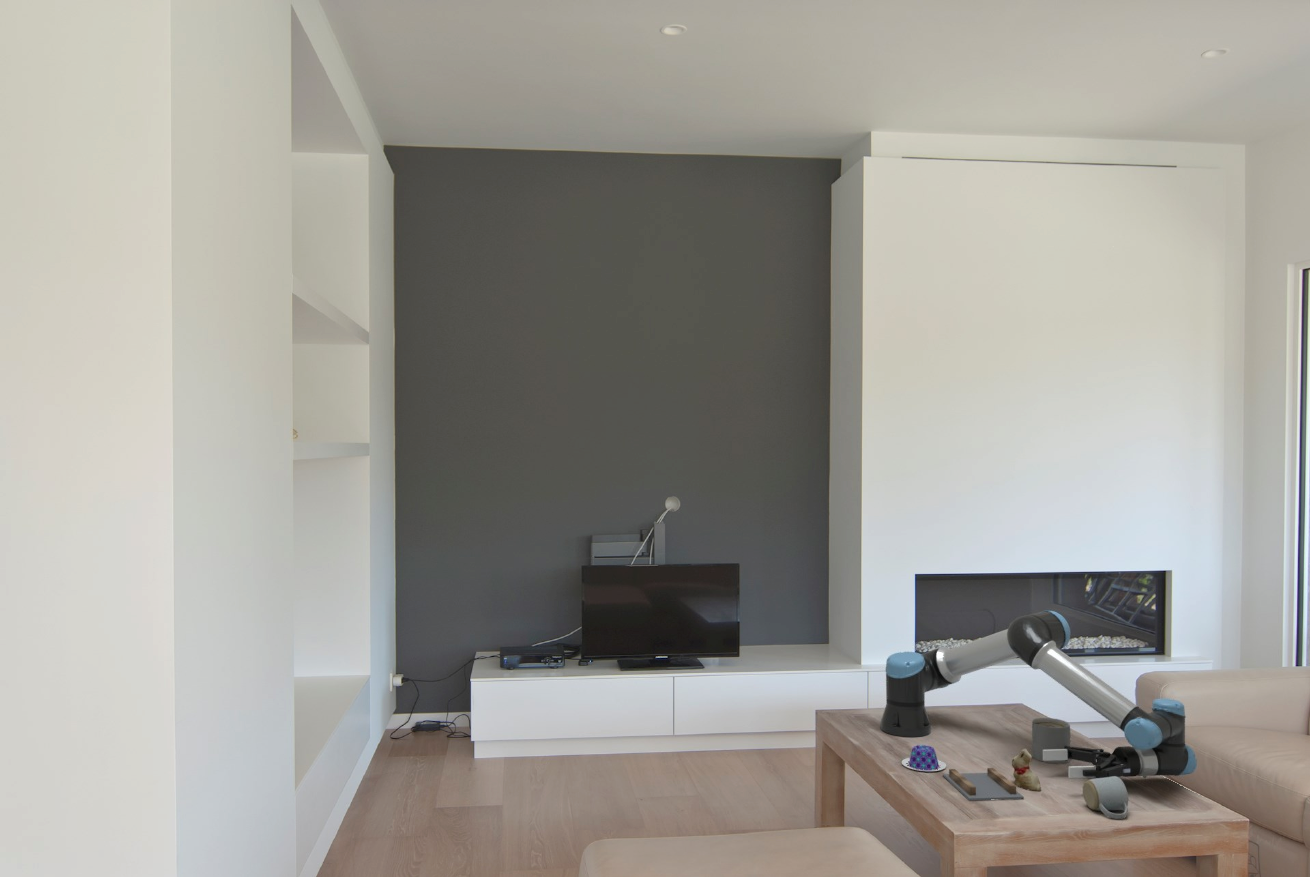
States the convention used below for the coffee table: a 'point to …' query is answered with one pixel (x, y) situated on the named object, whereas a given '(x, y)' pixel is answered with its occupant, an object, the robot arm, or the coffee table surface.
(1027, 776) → the chocolate bunny
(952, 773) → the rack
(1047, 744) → the coffee mug
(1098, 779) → the ceramic mug
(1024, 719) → the coffee table surface
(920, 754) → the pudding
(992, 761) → the coffee table surface
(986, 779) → the mat
